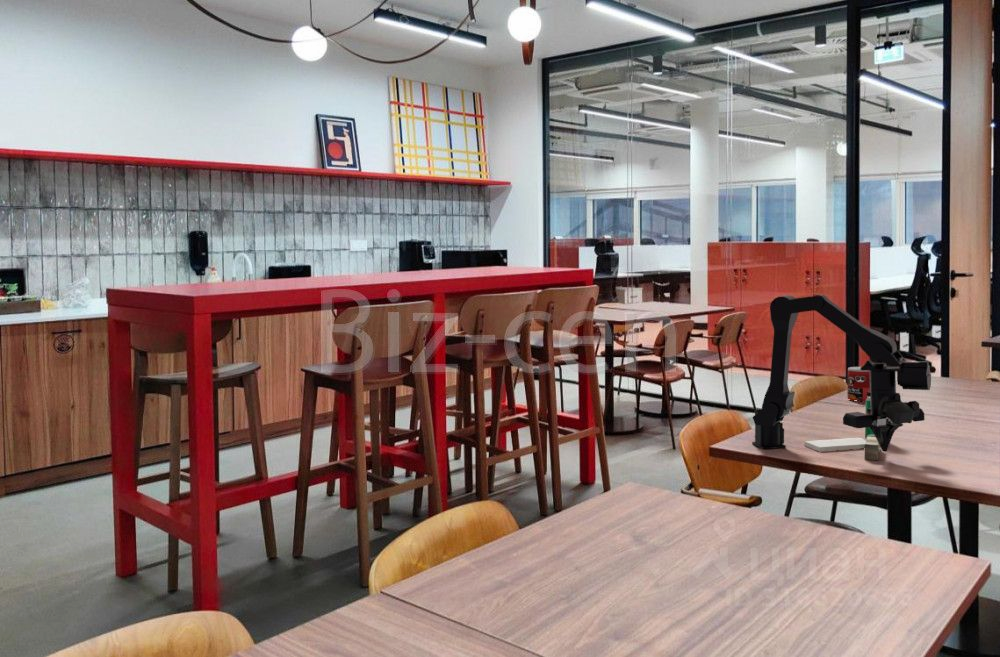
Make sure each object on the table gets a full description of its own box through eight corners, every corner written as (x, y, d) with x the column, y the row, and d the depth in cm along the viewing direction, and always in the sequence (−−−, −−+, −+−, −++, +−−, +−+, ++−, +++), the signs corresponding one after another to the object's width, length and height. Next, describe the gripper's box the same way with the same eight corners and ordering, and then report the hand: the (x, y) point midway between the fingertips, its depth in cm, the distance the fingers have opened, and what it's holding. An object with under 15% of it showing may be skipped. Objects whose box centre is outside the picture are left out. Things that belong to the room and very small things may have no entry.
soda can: (887, 443, 219) (888, 398, 218) (867, 442, 220) (868, 398, 219) (882, 438, 224) (883, 395, 223) (862, 438, 225) (863, 394, 224)
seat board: (827, 455, 207) (827, 450, 207) (804, 445, 218) (804, 441, 217) (884, 451, 210) (884, 446, 210) (858, 442, 221) (858, 437, 221)
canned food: (842, 399, 284) (842, 367, 283) (861, 397, 286) (862, 366, 285) (858, 402, 277) (858, 370, 276) (877, 401, 279) (878, 368, 278)
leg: (867, 447, 214) (867, 433, 213) (879, 448, 212) (879, 434, 212) (864, 459, 202) (864, 444, 202) (877, 460, 201) (877, 445, 200)
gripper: (870, 397, 191) (871, 463, 192) (940, 389, 195) (941, 454, 196) (840, 390, 202) (842, 453, 203) (907, 383, 205) (909, 444, 207)
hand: (884, 451), depth 202 cm, fingers closed
